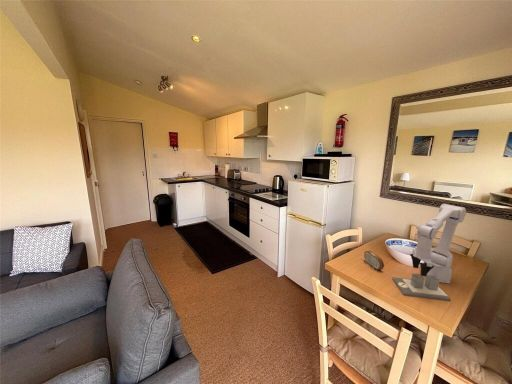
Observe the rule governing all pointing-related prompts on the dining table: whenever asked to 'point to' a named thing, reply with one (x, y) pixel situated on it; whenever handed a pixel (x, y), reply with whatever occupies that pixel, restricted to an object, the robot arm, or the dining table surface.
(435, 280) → the block
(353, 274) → the dining table surface
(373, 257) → the tin
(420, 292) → the scale
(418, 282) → the block
